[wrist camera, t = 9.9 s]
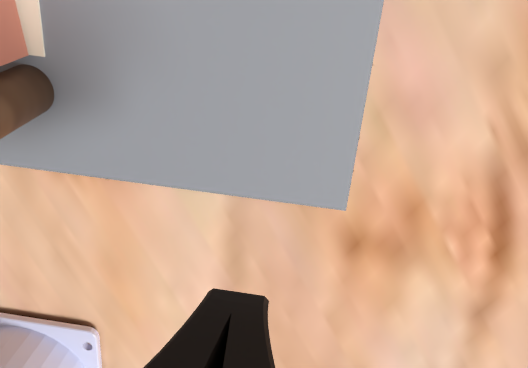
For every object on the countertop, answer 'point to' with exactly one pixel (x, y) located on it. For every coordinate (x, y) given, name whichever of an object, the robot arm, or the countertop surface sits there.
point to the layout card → (201, 93)
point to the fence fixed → (23, 96)
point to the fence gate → (11, 33)
